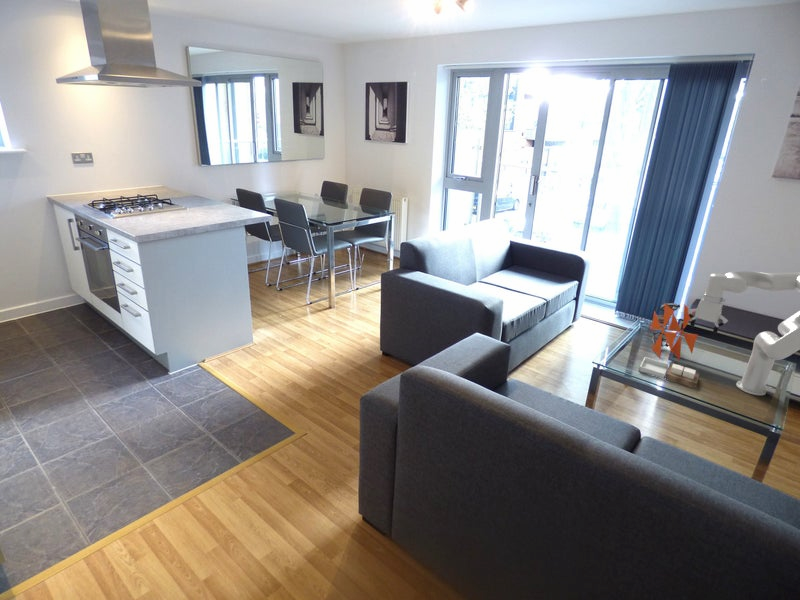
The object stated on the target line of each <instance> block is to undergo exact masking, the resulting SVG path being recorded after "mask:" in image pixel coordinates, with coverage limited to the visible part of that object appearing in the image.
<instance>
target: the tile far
mask: <svg viewBox="0 0 800 600" xmlns="http://www.w3.org/2000/svg"><path fill="white" fill-rule="evenodd" d="M671 366H672V368H671V371H670V372H672V373H675V374H678V375H681V374H682V371H683V369H684V368H685V366H683V365H679V364H676V363H672V364H671Z"/></svg>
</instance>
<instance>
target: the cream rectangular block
mask: <svg viewBox="0 0 800 600" xmlns="http://www.w3.org/2000/svg"><path fill="white" fill-rule="evenodd" d="M683 369H684V371H683V375H682V376H685V377H688V378H691V379H693V378H694V375H695V373H697V372H696V371H697V370H695V369H693V368H690V367H686V366H684V368H683Z"/></svg>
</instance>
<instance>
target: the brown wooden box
mask: <svg viewBox="0 0 800 600" xmlns="http://www.w3.org/2000/svg"><path fill="white" fill-rule="evenodd" d="M671 368H672V364H669V365H668V368H667V371H666V373H665V376H664V379H665V378H666V379H665V380H667V379H668V381H670V382H674V383H677V384H681V385H683V386H687V387H690V388H693V389H696V387H697V385H698V380H699V376H700V373H697V372H695V375H694V378H693V379H691V378H688V377H685V376H682V375H683V371H684V368H683V371H682V374H681V375H678V374H675V373H672V372H670V371H671Z"/></svg>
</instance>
